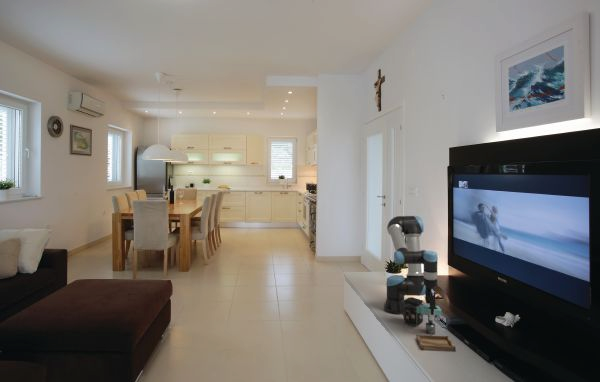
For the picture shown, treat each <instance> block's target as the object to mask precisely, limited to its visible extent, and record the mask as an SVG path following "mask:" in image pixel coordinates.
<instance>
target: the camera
mask: <svg viewBox="0 0 600 382" xmlns="http://www.w3.org/2000/svg"><path fill="white" fill-rule="evenodd" d="M419 305H424V304H423V299H420V298H416V297H414V296H413V297H410V296H409V297H407V298H404V310H402V312H403V314H402V317H403V320H404V321H405V324H407V325H411V326H413V327H417V326H419V325H421V324H422V323H423V322H424V315H422V314H421V313H417V307H419Z"/></svg>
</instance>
